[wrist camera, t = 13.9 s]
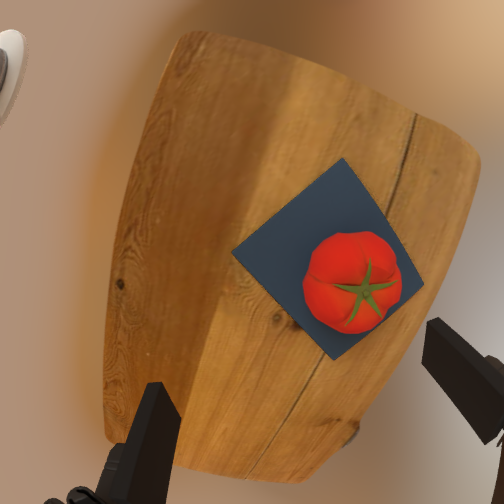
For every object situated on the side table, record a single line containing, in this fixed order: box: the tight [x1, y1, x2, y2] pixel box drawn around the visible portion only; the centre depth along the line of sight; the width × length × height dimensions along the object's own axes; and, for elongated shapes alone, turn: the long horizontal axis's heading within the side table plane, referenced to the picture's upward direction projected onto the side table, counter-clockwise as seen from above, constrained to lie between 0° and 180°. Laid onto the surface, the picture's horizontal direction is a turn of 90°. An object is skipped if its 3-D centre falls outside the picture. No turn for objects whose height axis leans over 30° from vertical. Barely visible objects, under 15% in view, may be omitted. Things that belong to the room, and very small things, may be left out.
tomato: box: [303, 231, 402, 334], centre depth 28 cm, size 11×11×8 cm
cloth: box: [232, 158, 424, 360], centre depth 32 cm, size 20×16×1 cm
